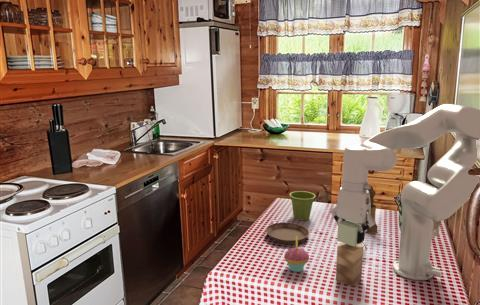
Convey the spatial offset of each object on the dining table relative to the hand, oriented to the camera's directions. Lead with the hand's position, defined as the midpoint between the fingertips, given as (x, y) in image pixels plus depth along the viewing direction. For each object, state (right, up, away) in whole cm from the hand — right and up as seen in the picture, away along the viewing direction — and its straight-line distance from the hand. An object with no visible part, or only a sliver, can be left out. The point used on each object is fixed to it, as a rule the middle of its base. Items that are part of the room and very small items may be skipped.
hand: (350, 238), depth 125 cm
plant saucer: (-16, -8, +36) cm, 40 cm away
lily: (+9, -10, +25) cm, 28 cm away
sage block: (0, -1, 0) cm, 1 cm away
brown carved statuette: (+20, -6, +42) cm, 47 cm away
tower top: (0, -8, +2) cm, 8 cm away
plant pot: (-7, -3, +56) cm, 56 cm away
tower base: (0, -14, +3) cm, 14 cm away
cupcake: (-16, -13, +10) cm, 23 cm away
